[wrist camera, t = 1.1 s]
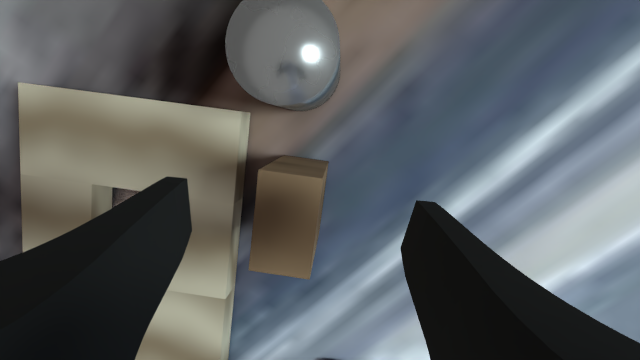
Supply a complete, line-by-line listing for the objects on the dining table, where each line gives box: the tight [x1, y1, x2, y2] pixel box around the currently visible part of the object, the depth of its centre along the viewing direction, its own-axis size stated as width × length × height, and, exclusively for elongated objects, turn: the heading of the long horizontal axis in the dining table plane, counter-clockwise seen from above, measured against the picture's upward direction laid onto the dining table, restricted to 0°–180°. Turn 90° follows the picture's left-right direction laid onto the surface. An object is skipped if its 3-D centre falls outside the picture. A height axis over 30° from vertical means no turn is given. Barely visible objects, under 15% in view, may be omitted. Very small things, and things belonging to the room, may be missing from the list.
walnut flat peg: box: [249, 155, 329, 279], centre depth 19 cm, size 5×3×7 cm, turn 173°
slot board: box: [18, 82, 250, 360], centre depth 23 cm, size 22×14×2 cm, turn 173°
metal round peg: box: [225, 0, 340, 111], centre depth 18 cm, size 5×5×7 cm
